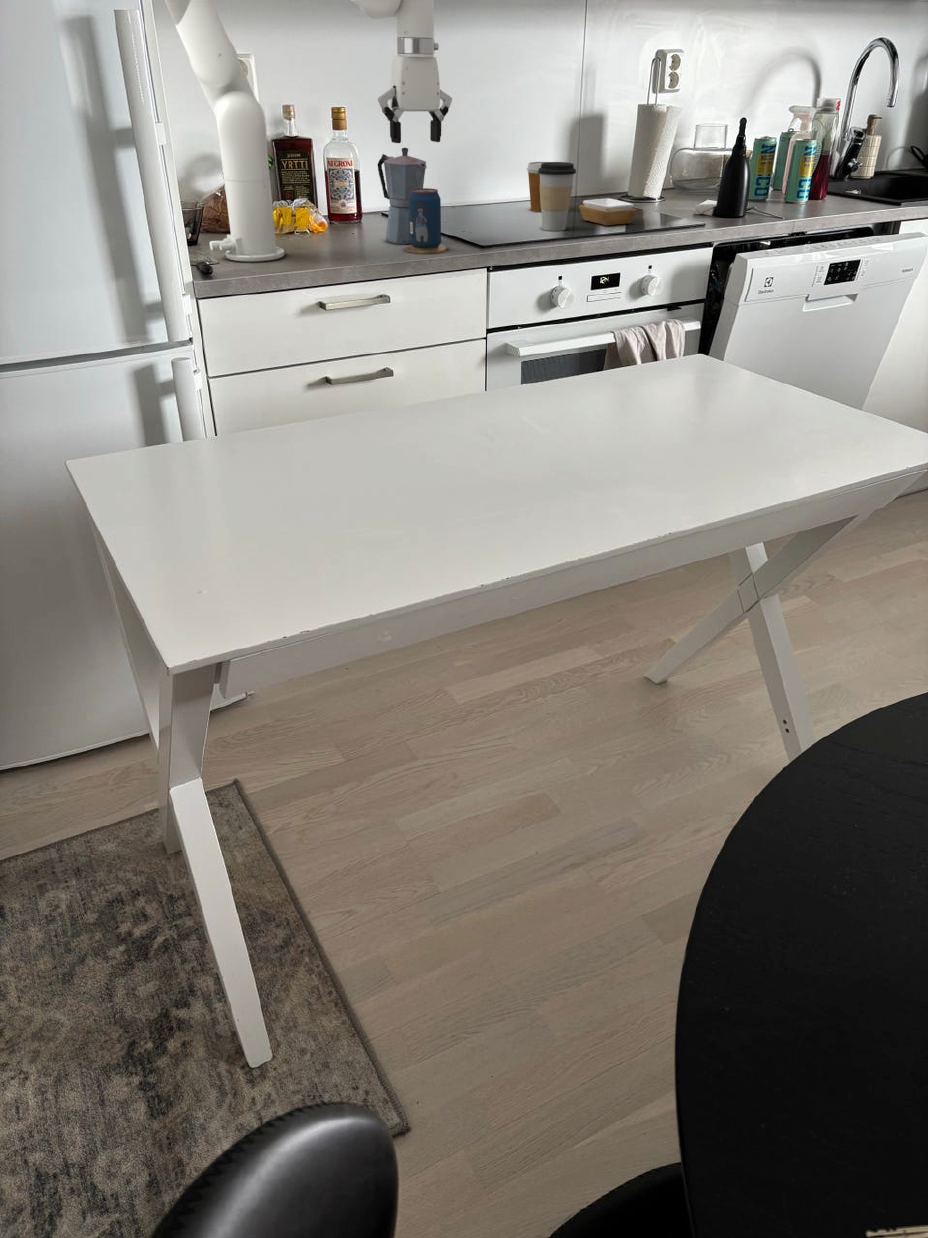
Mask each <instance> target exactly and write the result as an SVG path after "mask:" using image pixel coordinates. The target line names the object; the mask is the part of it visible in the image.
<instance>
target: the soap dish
mask: <svg viewBox="0 0 928 1238" xmlns="http://www.w3.org/2000/svg"><path fill="white" fill-rule="evenodd" d="M634 206H635V204H634V203H630V202H628V201H623V200H618V199H614V198H609V197H606V198H594V199H585V200H583V201H582V204H580V205H578V207H579V211H580V214H581V217H582V220H584V222H592V223H596V224H599V225H603V226H604V227H610V226H614V225H615V226H616V225H625V224H626V225H630V224H631V223H632V221H633V220H634V218H635V216H636V214H637V212H638V209H636V208H634Z"/></svg>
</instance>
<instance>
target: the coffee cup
mask: <svg viewBox="0 0 928 1238" xmlns="http://www.w3.org/2000/svg"><path fill="white" fill-rule="evenodd" d="M544 162H545V163H542V164H541V168H539V171H538V173H540V204H541V212H540V213H541V229H542V231H543V230H544V231H548V232H562V231H565V230H566V229H567V228H566V227H567V222H568V214H569V210H570V206H571V199H572V194H573V193H572V192H573V181H574V175H575V174H577V171H576V168H575V165H574V163H573V162H566V161H544Z"/></svg>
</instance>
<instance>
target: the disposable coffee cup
mask: <svg viewBox="0 0 928 1238" xmlns="http://www.w3.org/2000/svg"><path fill="white" fill-rule="evenodd" d="M545 162H546V161H530V162H528V164H527V167H526V171H527V174H528V188H529V201H530V211H531V212H536V213H541V204H540V173H538V171H539V168H541V164H542V163H545Z"/></svg>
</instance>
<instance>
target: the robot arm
mask: <svg viewBox="0 0 928 1238" xmlns="http://www.w3.org/2000/svg"><path fill="white" fill-rule="evenodd" d="M349 1H350V2H352V3H353V4H356V5H357V6H358V7H359V10H360V11H361V12H362V13H363V14H364V15H365V16H367V17H369V18H370V19H379V20H380V19H385V18H392V17H396V55H397V56H396V55H395V56H394V55H393V57H392V62H391V70H390V82H389V84H390V85H389V90H387V91H386V92H384V93H383V94H381V95H380V96H378V98H377V102H378V103H379V106H380V109H381V112H382V113H383V115H384V116H385V117H386V118H387V121H389V137H390V141H391V143H392V144H393V143H394V144H401V143H402V123H401V121H399V119H400V118H401V117H402V115H403V114H404V112H428V114H429V115H430V117H431V118H432V119H431V120H430V125H429V127H430V128H429V129H430V132H429V133H430V134H429V135H430V137H429V138H430V141H431V142H435V143H440V142H441V137H442V122H443V121H444V120H445V117H446V115H448V113H449V109H450V107H451V104H452V102H453V98H452V97H451V96H450V95H449V94H448V93H446V92H444V91H443V90H442V89H441V86H440V85H441V83H440V73H439V72H440V71H439V65H438V60H437V56H435V51H439V49H440V46H439V43H438V42H435V0H349ZM164 2H165V5H166V8H167V10H168V12H169V15H170V17H171V19H172V22H173V24H174V26H175V29H176V31H177V33H178V35H179V38H180V40H181V42H182V44H183V47H184V50H185V52H186V53H187V56H188V59H189V63H190V67H191V69H192V71H193V73H194V75H195V77H196V79H197V82H198V84H199V85H200V88H201V90H202V92H203V94H204V97H205V99H206V101H207V103H208V105H209V107H210V109H211V111H212V114H213V115H214V118H215V120H216V128H217V135H218V142H219V150H220V159H221V165H222V175H223V176H222V177H223V181H224V190H225V198H226V205H227V215H228V223H229V231H230V234H226V237H225V238H223V240H210V241H209V248H210V251H212V252H214V251H221V252H223V251H224V252H225V258H226V259H228V260H230V261H235V262H249V263H251V262H254V263H255V262H267V261H274V260H279V259H282V258H284V256H285V250H284V248H281V247H279V246H277V236H276V226H275V225H276V224H275V216H274V206H273V195H272V186H271V185H272V184H271V177H270V167H269V166H270V165H269V154H268V142H267V140H268V139H267V125H266V117H265V113H264V110H263V108H262V106H261V104H260V102H259V101H258V100H257V98H256V96H255V94H254V91H253V89H252V87H251V85H250V82H249V80H248V78H247V75H246V73H245V71H244V68H243V66H242V64H241V62H240V59H239V56H238V53H237V50H236V47H235V46H234V44H233V42H232V41H231V39H230V38H229V36H228V34H227V32H226V30H225V27H224V25H223V23H222V21H221V19H220V17H219V14H218V11H217V9H216V6H215V4H214V2H213V0H164ZM441 101H442V104H441ZM388 102H389V103H388ZM440 104H441V106H440Z"/></svg>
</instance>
